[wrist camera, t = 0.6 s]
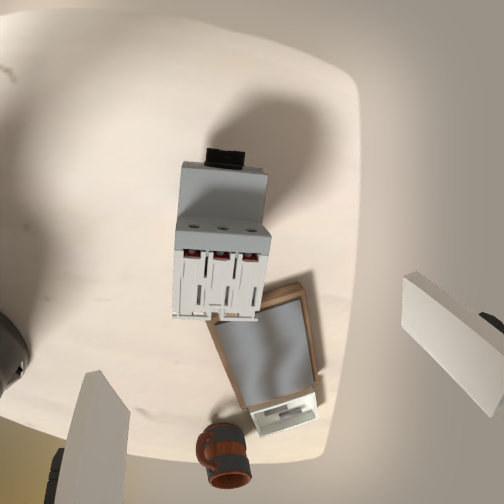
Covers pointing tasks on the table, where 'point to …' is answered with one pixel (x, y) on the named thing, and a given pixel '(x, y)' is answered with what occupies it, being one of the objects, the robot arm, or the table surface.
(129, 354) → the table surface
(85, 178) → the table surface
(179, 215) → the circuit breaker
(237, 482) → the mug
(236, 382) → the framed panel
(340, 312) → the table surface
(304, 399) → the tray
